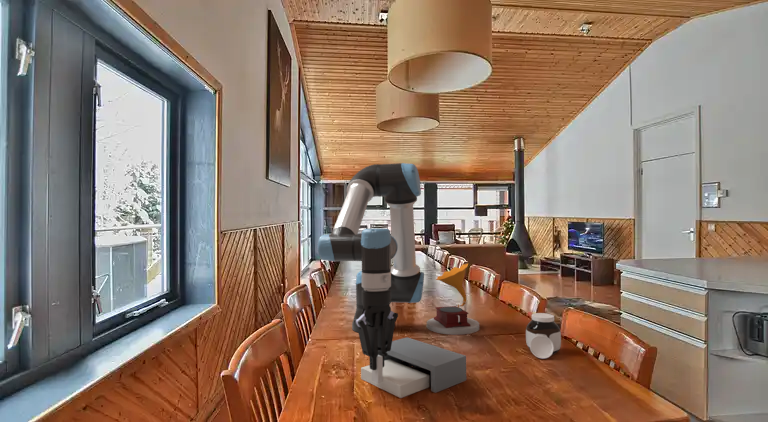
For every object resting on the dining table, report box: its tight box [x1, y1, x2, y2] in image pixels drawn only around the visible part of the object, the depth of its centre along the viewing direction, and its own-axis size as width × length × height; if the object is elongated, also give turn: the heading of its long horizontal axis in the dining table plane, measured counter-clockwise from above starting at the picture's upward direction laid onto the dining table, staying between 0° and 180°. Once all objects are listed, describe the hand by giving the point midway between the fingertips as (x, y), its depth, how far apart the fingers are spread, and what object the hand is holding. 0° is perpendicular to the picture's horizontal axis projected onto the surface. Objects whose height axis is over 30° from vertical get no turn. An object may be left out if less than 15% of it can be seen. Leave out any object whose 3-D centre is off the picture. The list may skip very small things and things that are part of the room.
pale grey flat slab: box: [360, 359, 430, 399], centre depth 111 cm, size 16×10×3 cm, turn 40°
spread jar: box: [525, 312, 562, 360], centre depth 132 cm, size 12×11×12 cm
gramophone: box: [426, 263, 480, 336], centre depth 165 cm, size 20×20×25 cm
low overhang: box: [384, 337, 467, 394], centre depth 117 cm, size 23×12×6 cm, turn 40°
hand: (377, 381), depth 107 cm, fingers closed
